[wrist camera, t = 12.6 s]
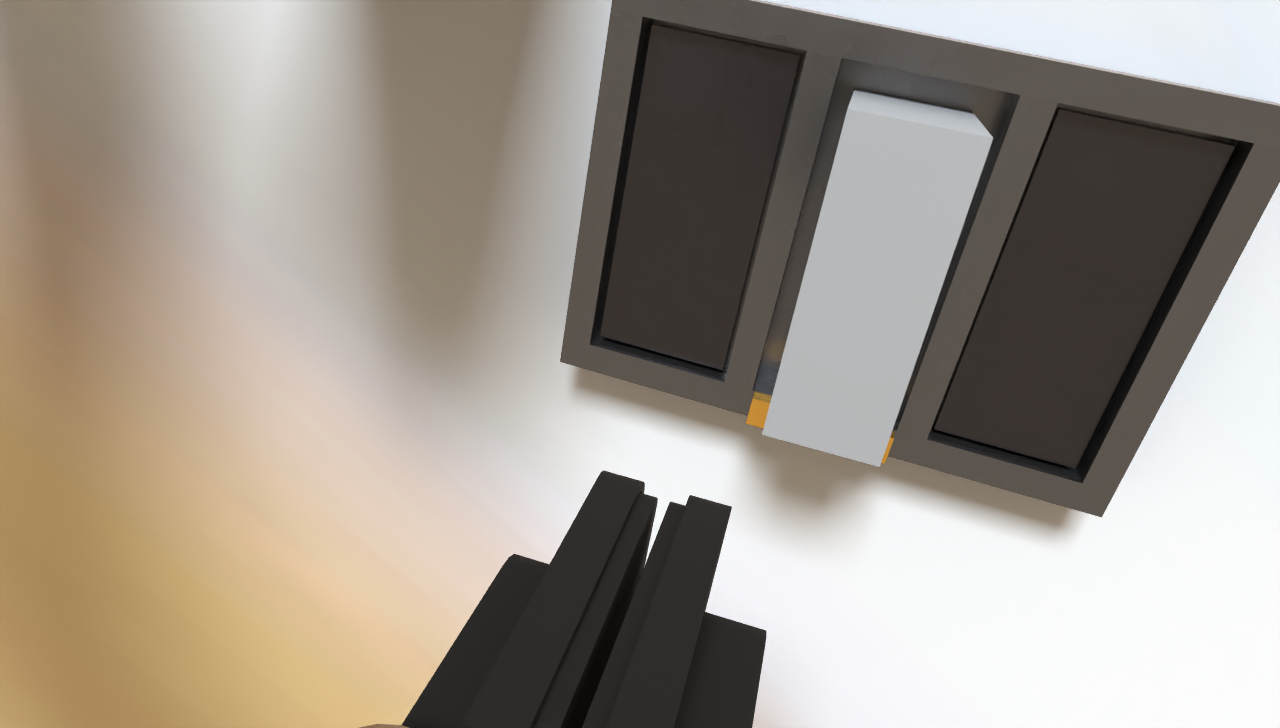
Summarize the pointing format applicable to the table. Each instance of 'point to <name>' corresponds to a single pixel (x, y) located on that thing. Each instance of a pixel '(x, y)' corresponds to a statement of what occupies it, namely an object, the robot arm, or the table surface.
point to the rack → (984, 255)
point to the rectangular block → (875, 271)
